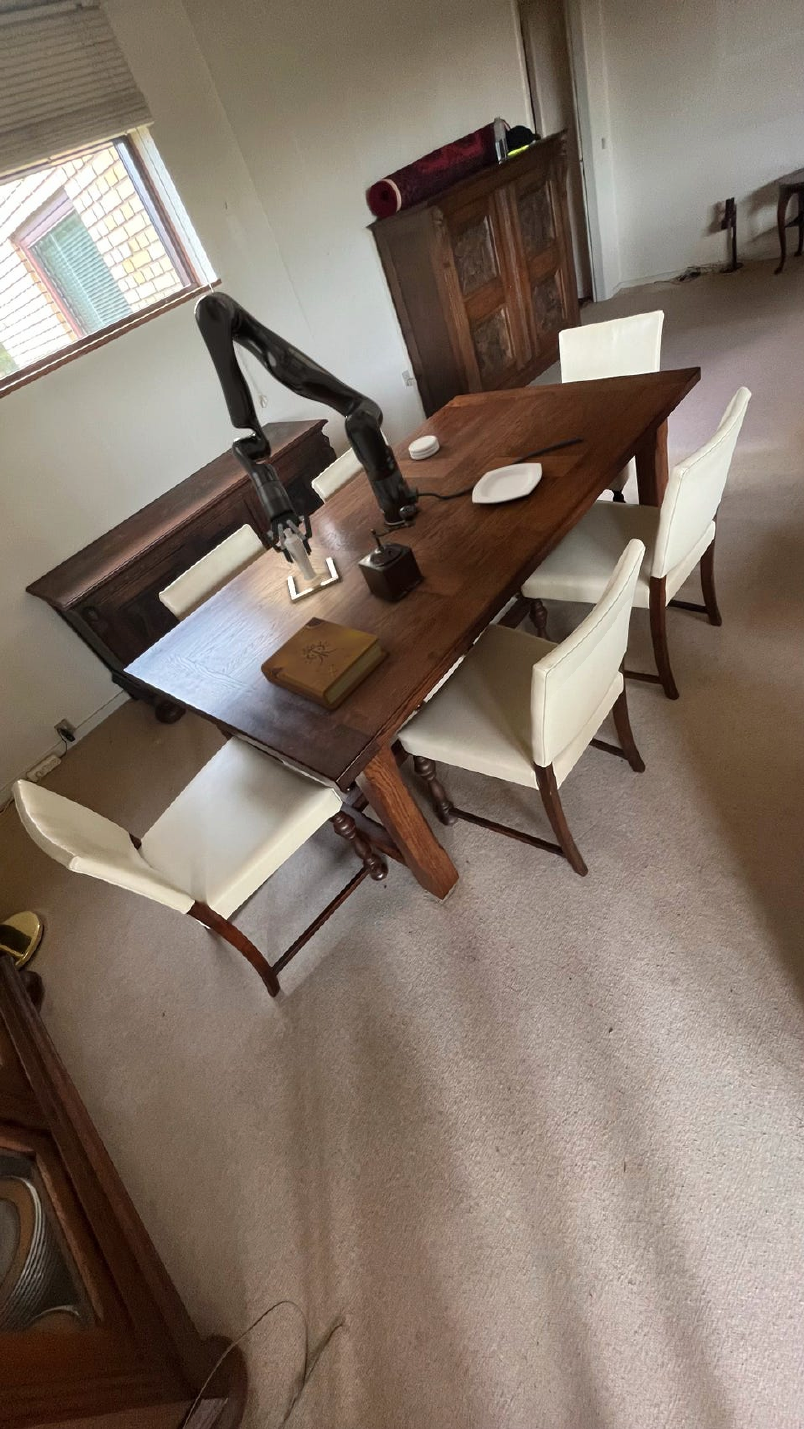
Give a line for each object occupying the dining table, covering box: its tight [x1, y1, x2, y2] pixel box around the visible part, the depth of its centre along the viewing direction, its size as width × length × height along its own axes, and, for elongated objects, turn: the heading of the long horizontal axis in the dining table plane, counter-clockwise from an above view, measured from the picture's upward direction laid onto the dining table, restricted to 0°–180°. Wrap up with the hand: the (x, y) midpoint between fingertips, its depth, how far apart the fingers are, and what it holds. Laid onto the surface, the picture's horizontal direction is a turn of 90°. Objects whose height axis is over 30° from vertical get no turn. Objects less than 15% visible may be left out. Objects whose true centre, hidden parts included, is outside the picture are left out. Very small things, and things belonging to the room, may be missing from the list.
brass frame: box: [286, 556, 341, 604], centre depth 176 cm, size 13×14×1 cm
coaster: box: [408, 435, 440, 461], centre depth 209 cm, size 10×10×4 cm
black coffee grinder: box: [357, 506, 424, 603], centre depth 153 cm, size 16×11×18 cm
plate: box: [471, 462, 543, 504], centre depth 172 cm, size 19×19×2 cm
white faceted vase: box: [283, 528, 318, 581], centre depth 171 cm, size 5×4×15 cm
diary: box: [260, 616, 388, 711], centre depth 142 cm, size 23×19×6 cm
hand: (300, 558), depth 170 cm, fingers closed on white faceted vase, 4 cm apart
